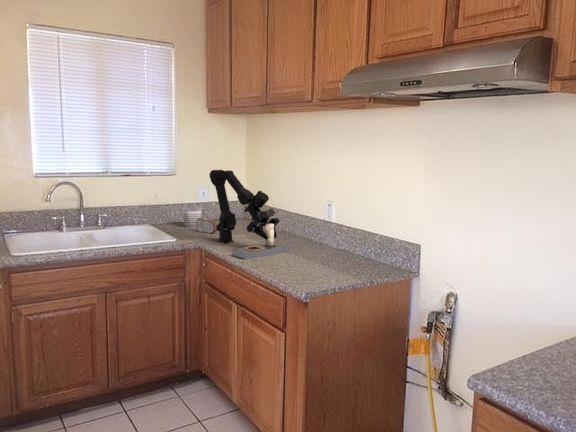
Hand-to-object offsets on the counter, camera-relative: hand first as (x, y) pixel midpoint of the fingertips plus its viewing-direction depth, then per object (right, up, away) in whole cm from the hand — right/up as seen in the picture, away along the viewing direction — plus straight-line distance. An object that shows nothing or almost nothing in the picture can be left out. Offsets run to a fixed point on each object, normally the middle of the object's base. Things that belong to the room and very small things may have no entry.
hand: (271, 238), depth 240 cm
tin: (-40, +1, +47) cm, 62 cm away
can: (-52, +4, +66) cm, 84 cm away
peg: (-1, -7, +2) cm, 7 cm away
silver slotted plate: (-5, -7, -1) cm, 9 cm away
